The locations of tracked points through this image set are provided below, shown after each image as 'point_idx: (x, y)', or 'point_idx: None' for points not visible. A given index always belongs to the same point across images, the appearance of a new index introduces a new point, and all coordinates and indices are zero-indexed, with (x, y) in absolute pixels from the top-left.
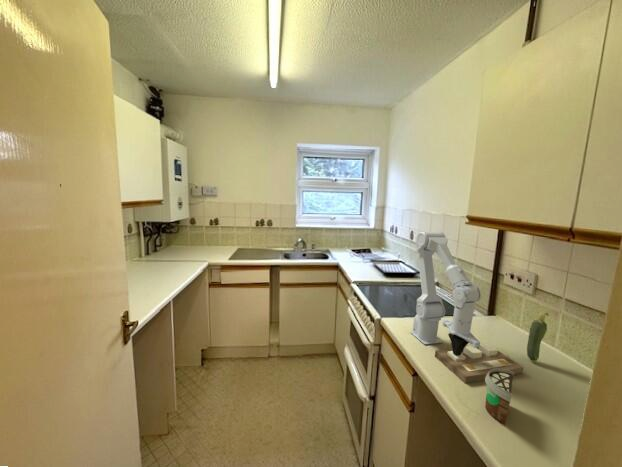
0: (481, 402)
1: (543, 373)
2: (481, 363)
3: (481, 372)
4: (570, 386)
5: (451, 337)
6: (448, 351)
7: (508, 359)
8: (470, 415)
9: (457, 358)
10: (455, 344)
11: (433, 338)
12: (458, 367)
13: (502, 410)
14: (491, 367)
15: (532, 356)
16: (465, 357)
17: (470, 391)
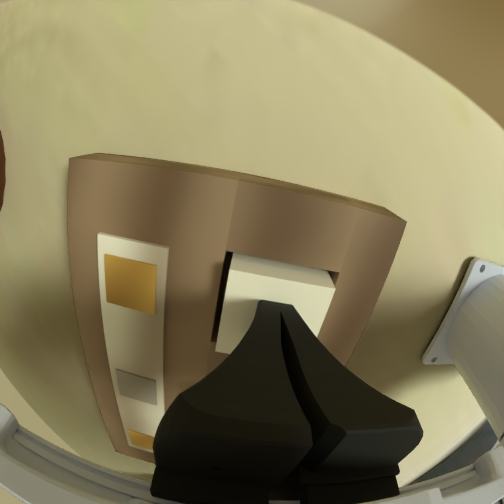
0: (9, 126)
1: (122, 458)
2: (150, 376)
3: (84, 301)
4: (78, 446)
5: (355, 416)
6: (332, 294)
7: None
8: (6, 31)
9: (228, 281)
10: (267, 366)
11: (464, 334)
12: (156, 195)
13: None
14: (113, 382)
15: None
16: (216, 348)
17: (54, 130)
